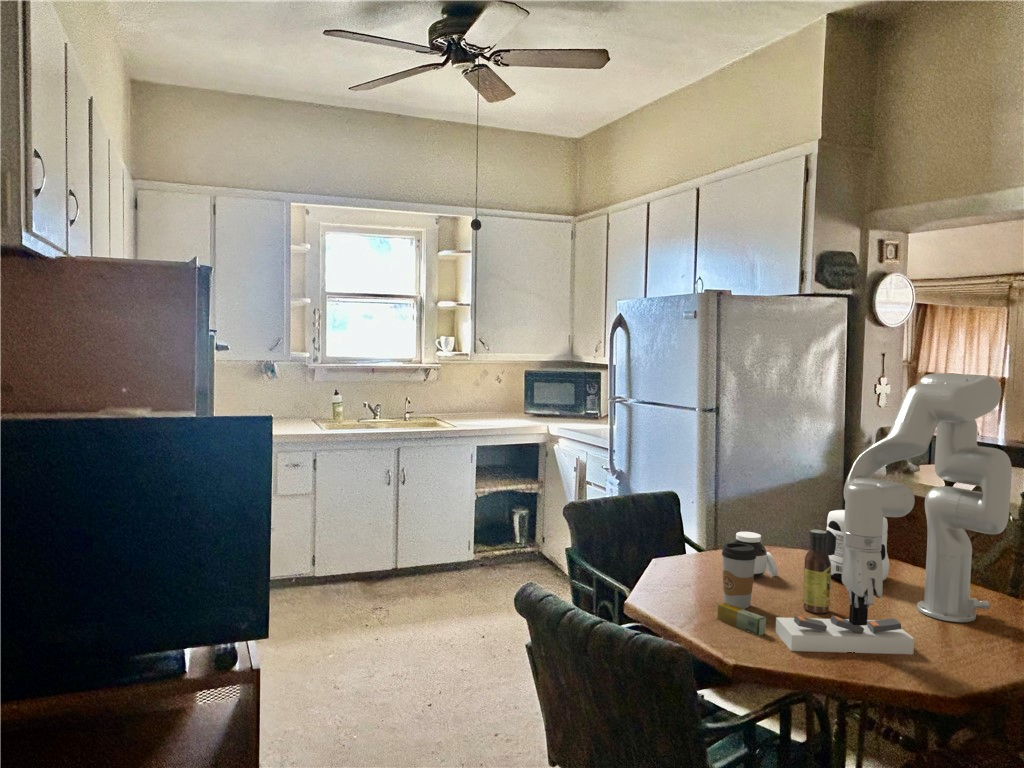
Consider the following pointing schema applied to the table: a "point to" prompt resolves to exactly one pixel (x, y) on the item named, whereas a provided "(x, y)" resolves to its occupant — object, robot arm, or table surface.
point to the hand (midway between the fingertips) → (857, 623)
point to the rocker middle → (846, 624)
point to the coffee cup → (738, 574)
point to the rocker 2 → (884, 625)
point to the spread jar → (758, 553)
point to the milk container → (837, 549)
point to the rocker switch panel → (842, 638)
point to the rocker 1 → (810, 623)
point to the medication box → (741, 618)
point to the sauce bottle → (817, 574)
